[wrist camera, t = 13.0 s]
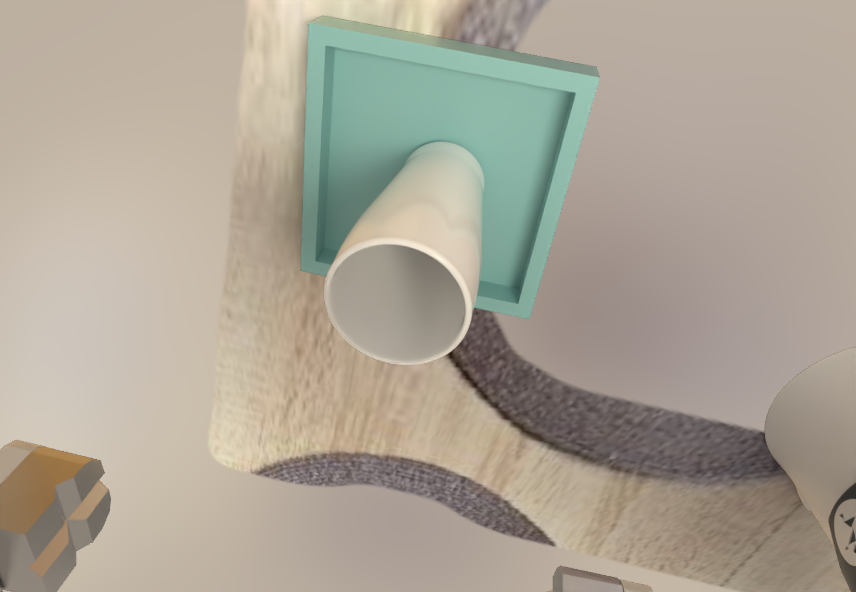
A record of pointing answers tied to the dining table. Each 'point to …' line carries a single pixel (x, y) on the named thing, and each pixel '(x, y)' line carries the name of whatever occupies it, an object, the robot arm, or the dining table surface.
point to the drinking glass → (412, 261)
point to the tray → (441, 121)
